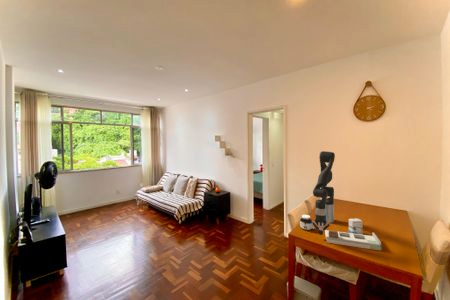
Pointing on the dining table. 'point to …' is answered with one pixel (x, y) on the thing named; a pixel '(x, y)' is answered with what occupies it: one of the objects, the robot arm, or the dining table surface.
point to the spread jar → (306, 222)
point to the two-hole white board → (355, 240)
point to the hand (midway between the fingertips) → (320, 234)
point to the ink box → (355, 226)
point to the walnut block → (333, 234)
